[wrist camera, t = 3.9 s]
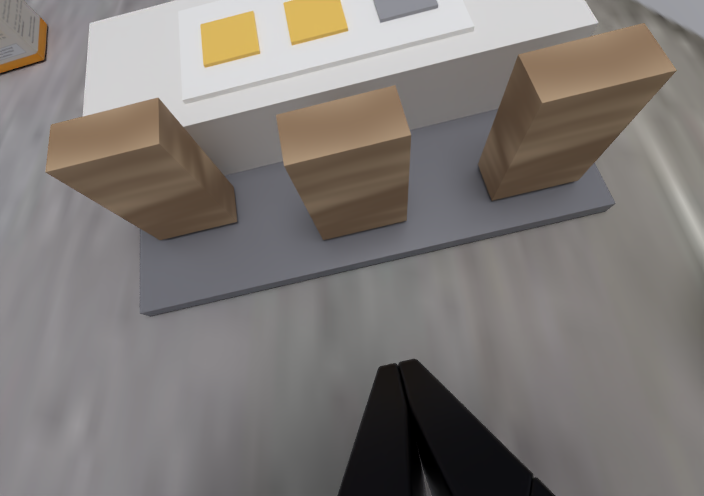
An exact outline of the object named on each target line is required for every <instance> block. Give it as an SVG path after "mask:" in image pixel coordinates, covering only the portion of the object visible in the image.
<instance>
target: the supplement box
mask: <svg viewBox="0 0 704 496" xmlns="http://www.w3.org/2000/svg"><path fill="white" fill-rule="evenodd" d="M46 36H47V24H46V23H45V22H44V21H43V20H42V18H40V17H39V16H38V14H37V13H36V12H35V11H34V10H32V9H31V8H30V7H29V5H28V4H27V3H26V2H25V1H24V0H0V73H2V72H5V71H9V70H12V69H15V68H18V67H22V66H25V65H28V64H32V63H35V62H38V61H42V60H44V59H45V50H46Z"/></svg>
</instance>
